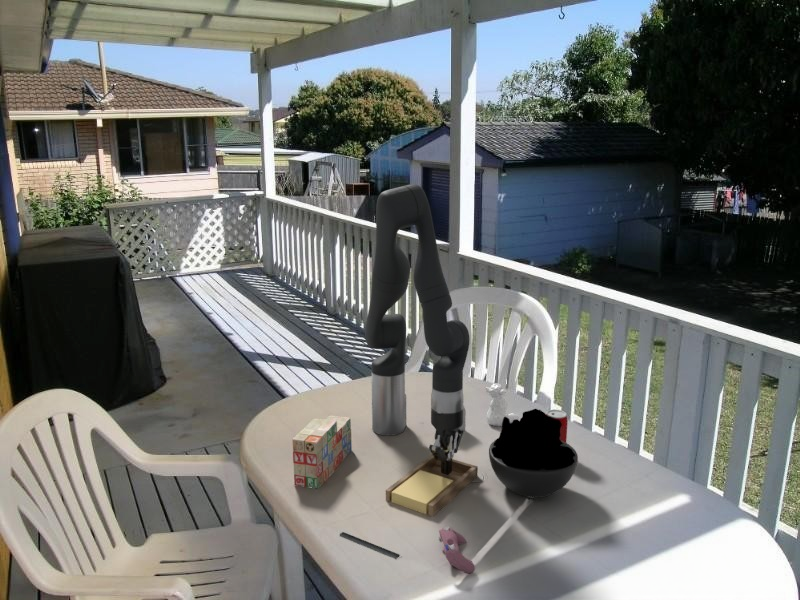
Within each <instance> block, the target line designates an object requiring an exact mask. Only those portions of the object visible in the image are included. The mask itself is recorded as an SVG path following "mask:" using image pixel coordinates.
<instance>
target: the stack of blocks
mask: <svg viewBox="0 0 800 600" xmlns="http://www.w3.org/2000/svg"><path fill="white" fill-rule="evenodd" d="M351 426H352V425H351V417H347V416H346V417H345V416H337V415H328V416H327V417H326V418H325V419H323V418H322V419H321V418H315V417H314V418H313V419H312V420H311V421H310V422H309V423H307V425H306V426H305V427H304V428H303V429H302V430H301V431H300V432H299V433H297V434H296V435H295V436H294V437H293V438H292V462H293V473H294V474H293V480H294V482H293V483H294V484H293V485H294V486H295V485H298V486H297V487H301V486H304V487H303V488H307V487H312V488H311V489H313V488H317V489H316V490H319V489H320V488H321V486H322V485H323V484H324V483H326V481H327V480H328V479H329V477H331V475H332V474H333V473H334V472H335V470H336V469H337V468H338V466H339V465H340V464H341V462H343V461H344V459H346V457H347V456H348V455H349V454H350V453H351V451H352V449H353V448H352V445H353V444H352V428H351ZM319 487H320V488H319ZM318 488H319V489H318Z"/></svg>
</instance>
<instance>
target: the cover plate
mask: <svg viewBox="0 0 800 600" xmlns="http://www.w3.org/2000/svg"><path fill="white" fill-rule="evenodd" d="M452 484H453V480H450V479H447V478H444V477H441V476H438V475H434V474H431V473H428V472H425V471H422V470H420V471H418V472H417V473H416V474H414V475H413V476H412V477H410V478H409V479H408V480H407V481H405V482H404V483H403V484H401V485H400V486H399V487H397V488H396V489H395V490H394V491H392V502H393V504H395V503H396V504H395V505H398V506H401V507H403V506H404V508H406V507H407V509H409V508H410V510H412V509H413V510H412V511H416V512H417V513H420V512H421V514H423V513H424V514H423V515H426V514H427V513H428V512H429V504H430V503H431V502H432V501H433V500H435V499H436V498H437V497H438V496H439V495H440V494H442V493H443V492H444V491H445V490H446V489H447V488H448V487H450V486H451V485H452ZM392 502H391V503H392Z"/></svg>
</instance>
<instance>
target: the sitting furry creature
mask: <svg viewBox="0 0 800 600" xmlns="http://www.w3.org/2000/svg"><path fill="white" fill-rule="evenodd" d="M485 390H486V392H487V393H489V394H488V395H489V396H490V397H491V398H492V399H491V401H490V402H489V408H488V410H487V413H486V421H487V423H488V424H489V425H490V426H492V425H493V427H500V426H501V427H502V421H503V418H504V417H507V418H509V421H510V423H512V422H513V420H516V419H517V420H519V421H520V416H519V415H518V414H515V413H513V412H511V413H509V414H507V408H508V403H506V400H505V396H506V391H505V388H504V387H503V386H502V384H501V383H493V384H491V386H485Z"/></svg>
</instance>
